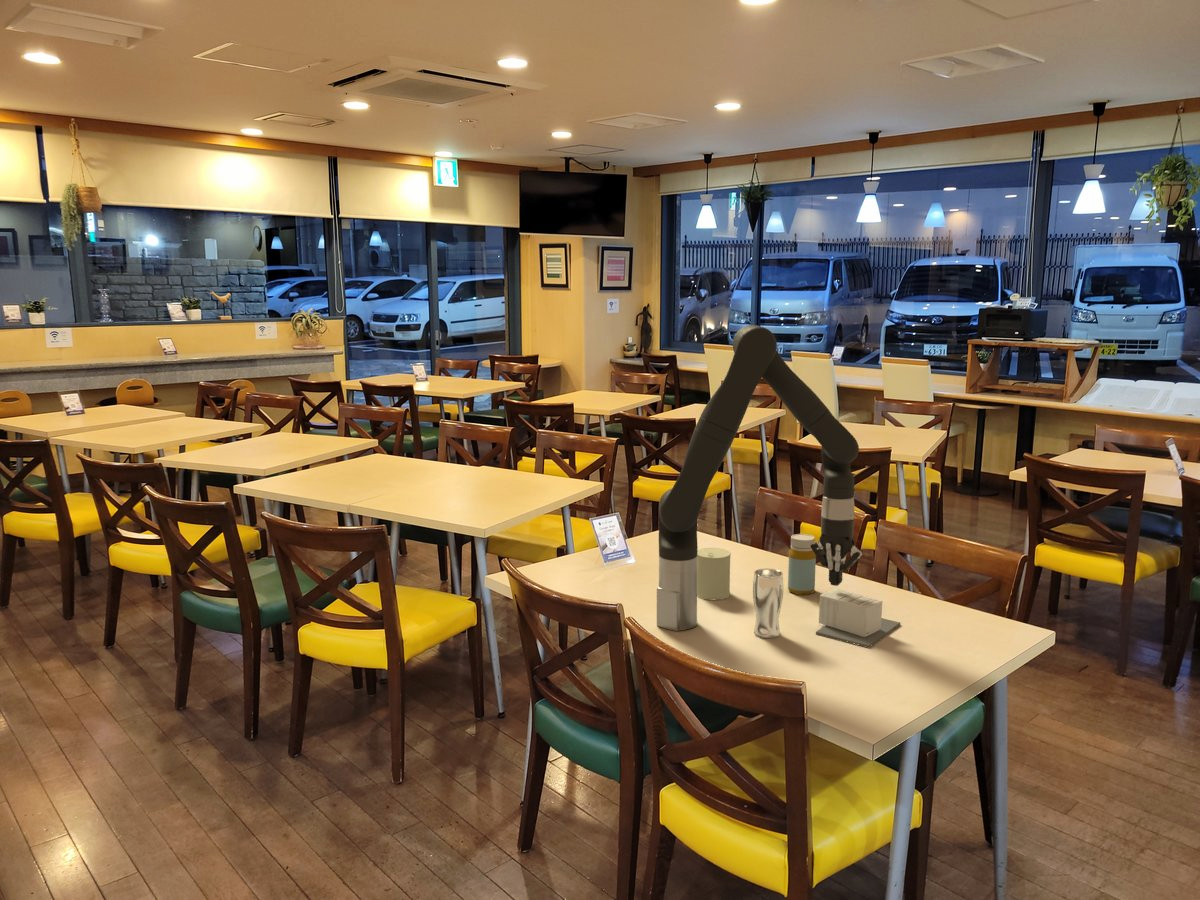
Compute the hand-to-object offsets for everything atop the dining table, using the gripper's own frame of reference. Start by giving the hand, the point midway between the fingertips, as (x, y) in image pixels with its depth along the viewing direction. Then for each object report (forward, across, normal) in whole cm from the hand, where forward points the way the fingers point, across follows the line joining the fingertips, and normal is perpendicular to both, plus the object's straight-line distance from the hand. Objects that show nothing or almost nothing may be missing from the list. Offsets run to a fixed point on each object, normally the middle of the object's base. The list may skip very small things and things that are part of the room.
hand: (835, 584), depth 211 cm
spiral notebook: (+10, +6, 0) cm, 12 cm away
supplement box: (+5, -2, -1) cm, 6 cm away
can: (+10, -34, -1) cm, 35 cm away
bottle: (+10, -17, +16) cm, 25 cm away
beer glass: (+10, -9, -16) cm, 21 cm away
